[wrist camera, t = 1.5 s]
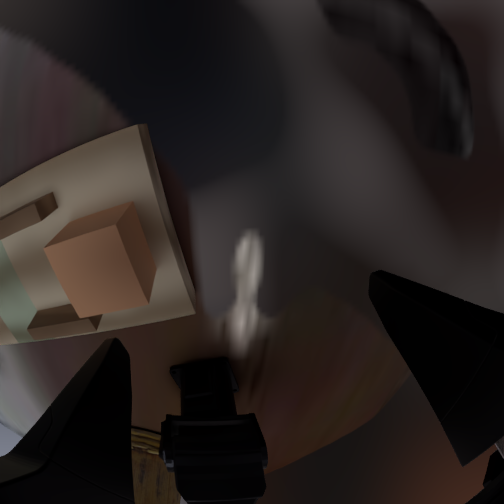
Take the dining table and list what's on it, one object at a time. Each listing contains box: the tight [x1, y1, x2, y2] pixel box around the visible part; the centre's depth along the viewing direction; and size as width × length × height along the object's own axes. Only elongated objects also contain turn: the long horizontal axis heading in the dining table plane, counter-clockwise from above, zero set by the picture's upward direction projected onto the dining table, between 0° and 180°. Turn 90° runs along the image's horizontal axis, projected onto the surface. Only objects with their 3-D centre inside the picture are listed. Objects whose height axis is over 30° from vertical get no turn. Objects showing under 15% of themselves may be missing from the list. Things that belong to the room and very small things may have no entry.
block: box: [43, 201, 157, 318], centre depth 15 cm, size 5×5×4 cm
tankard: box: [131, 428, 181, 504], centre depth 24 cm, size 18×24×25 cm
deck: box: [0, 124, 195, 345], centre depth 16 cm, size 14×28×6 cm, turn 99°
